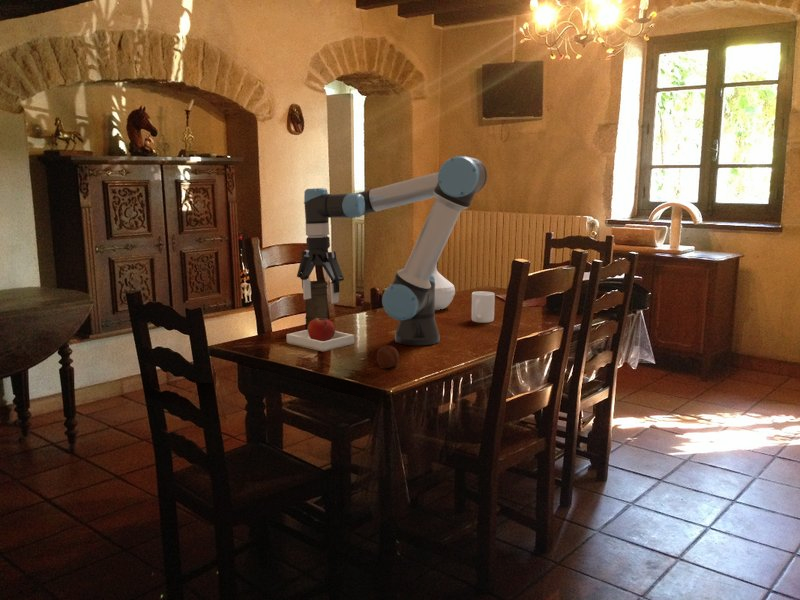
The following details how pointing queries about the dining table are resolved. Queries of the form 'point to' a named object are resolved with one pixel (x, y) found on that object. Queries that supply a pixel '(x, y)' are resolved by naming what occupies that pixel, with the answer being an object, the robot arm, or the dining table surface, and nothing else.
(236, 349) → the dining table surface
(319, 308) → the container
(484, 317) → the mug
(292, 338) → the dish
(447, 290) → the vase
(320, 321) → the tomato
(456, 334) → the dining table surface
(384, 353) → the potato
